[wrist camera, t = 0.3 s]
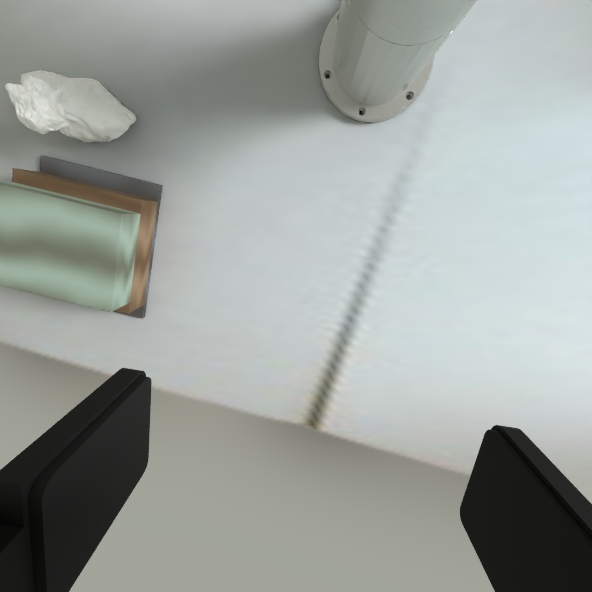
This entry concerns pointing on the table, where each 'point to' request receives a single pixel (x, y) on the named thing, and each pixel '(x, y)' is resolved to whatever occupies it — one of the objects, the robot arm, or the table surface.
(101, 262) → the sage layered slab
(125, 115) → the bust
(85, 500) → the robot arm
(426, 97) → the table surface
